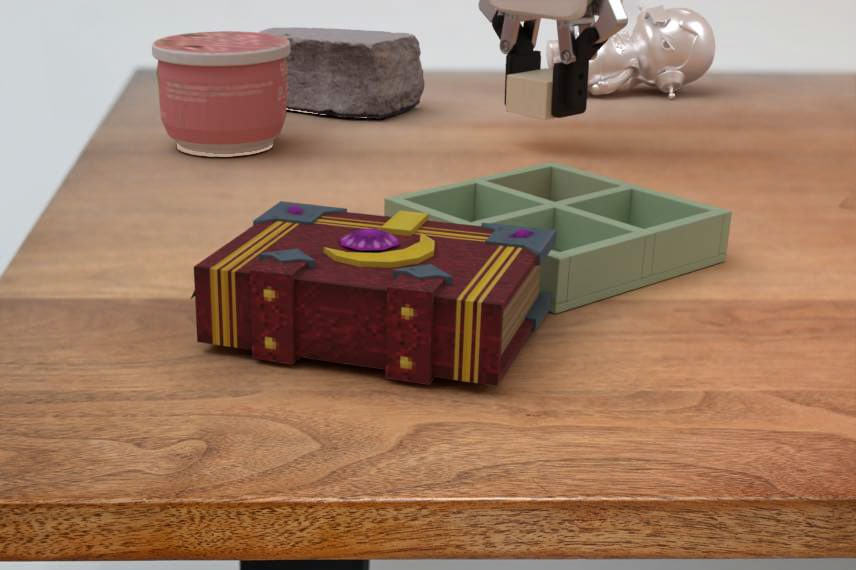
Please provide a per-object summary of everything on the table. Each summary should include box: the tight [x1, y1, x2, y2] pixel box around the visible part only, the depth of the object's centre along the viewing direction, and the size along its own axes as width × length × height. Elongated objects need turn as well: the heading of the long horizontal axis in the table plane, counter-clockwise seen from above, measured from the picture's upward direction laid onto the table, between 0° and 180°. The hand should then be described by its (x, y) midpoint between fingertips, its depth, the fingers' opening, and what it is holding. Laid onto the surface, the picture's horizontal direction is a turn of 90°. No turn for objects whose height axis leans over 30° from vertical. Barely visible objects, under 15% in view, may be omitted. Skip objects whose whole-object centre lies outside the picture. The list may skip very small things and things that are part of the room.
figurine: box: [545, 3, 716, 100], centre depth 115 cm, size 11×7×15 cm
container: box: [151, 30, 291, 154], centre depth 97 cm, size 10×10×8 cm
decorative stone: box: [258, 27, 425, 119], centre depth 109 cm, size 15×7×10 cm
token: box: [505, 67, 558, 121], centre depth 96 cm, size 4×4×3 cm
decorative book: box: [190, 200, 557, 387], centre depth 62 cm, size 11×16×5 cm
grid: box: [383, 161, 733, 315], centre depth 73 cm, size 14×14×3 cm
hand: (544, 107), depth 96 cm, fingers closed on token, 4 cm apart
